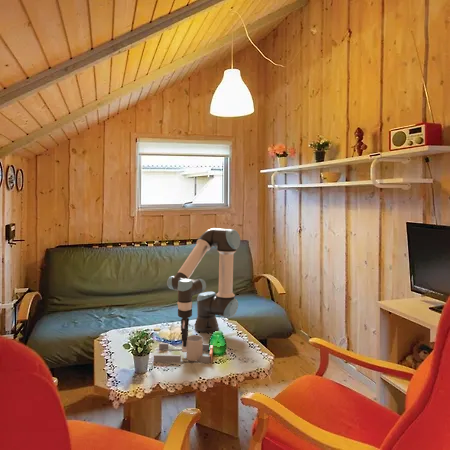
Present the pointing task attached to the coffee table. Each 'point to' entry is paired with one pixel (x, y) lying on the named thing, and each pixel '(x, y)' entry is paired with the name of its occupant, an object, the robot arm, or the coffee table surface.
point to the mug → (194, 347)
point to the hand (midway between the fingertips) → (184, 351)
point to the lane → (178, 357)
